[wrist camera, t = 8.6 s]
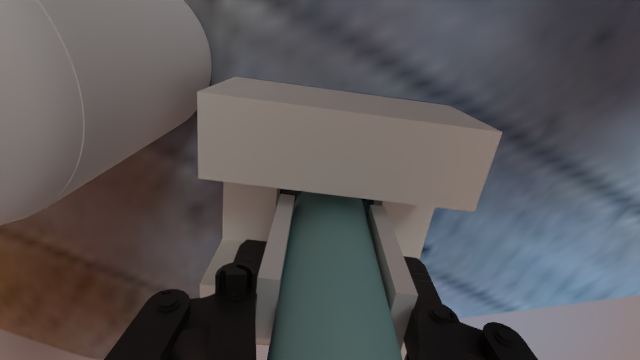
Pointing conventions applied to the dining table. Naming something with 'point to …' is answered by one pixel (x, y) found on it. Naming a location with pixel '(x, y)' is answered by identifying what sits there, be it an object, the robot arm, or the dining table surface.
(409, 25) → the dining table surface
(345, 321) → the peg
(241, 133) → the socket
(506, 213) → the dining table surface
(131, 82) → the pill bottle
